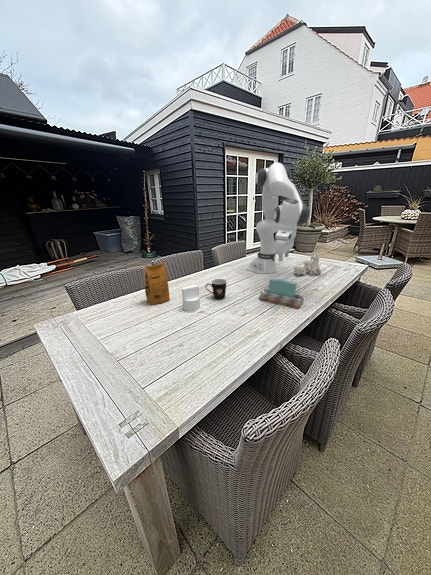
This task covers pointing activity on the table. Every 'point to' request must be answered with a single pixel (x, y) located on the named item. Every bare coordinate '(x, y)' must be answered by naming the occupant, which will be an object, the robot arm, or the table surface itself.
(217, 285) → the coffee mug
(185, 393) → the table surface
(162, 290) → the coffee package
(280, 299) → the bottom track
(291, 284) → the door panel
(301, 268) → the chinaware
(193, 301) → the base with upright slab
